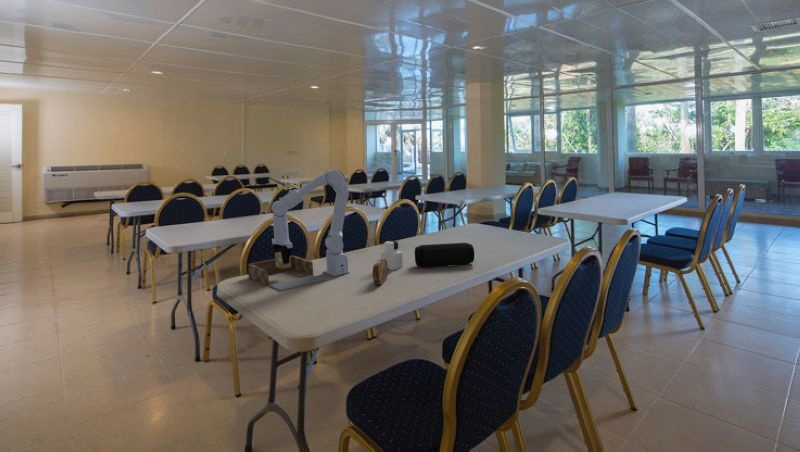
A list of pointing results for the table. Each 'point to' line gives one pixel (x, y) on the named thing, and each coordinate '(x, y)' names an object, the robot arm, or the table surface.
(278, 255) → the block
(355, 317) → the table surface
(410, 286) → the table surface
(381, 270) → the tin
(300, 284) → the mat
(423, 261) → the portable speaker
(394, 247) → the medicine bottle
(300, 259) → the wooden u-shaped frame
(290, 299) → the table surface
